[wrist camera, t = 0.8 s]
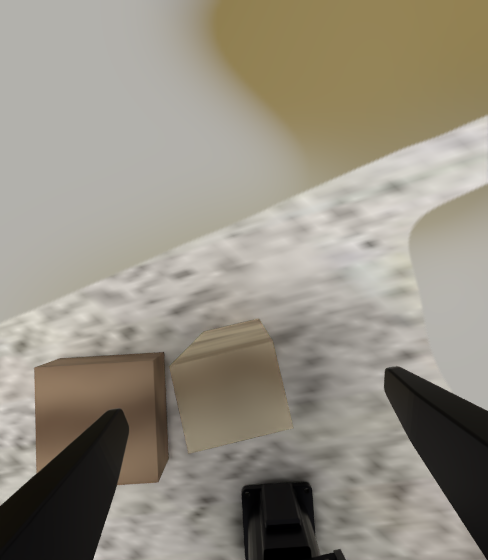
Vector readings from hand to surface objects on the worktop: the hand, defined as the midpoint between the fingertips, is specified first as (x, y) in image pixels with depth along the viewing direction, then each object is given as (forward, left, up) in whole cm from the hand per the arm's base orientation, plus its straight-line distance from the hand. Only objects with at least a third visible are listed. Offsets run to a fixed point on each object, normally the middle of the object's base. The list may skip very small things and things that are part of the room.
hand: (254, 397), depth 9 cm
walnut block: (-7, +13, -17) cm, 23 cm away
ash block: (-2, +1, -17) cm, 17 cm away
